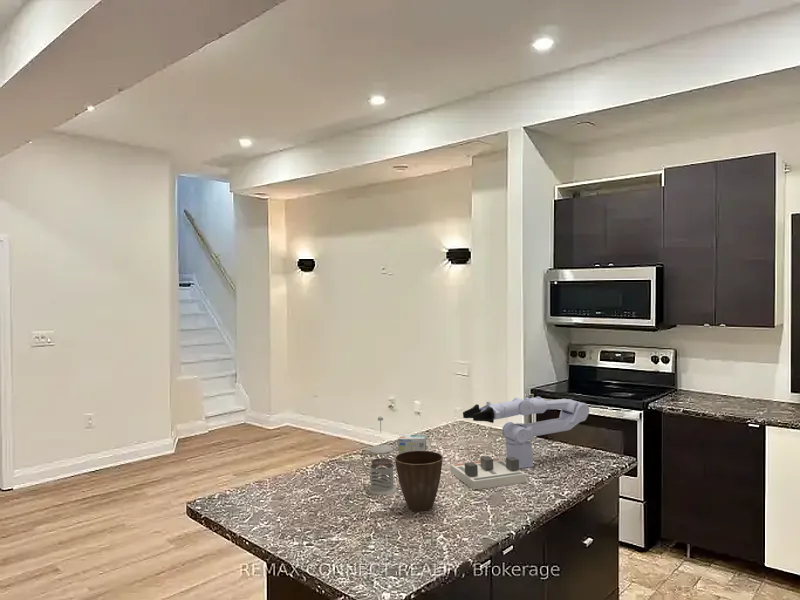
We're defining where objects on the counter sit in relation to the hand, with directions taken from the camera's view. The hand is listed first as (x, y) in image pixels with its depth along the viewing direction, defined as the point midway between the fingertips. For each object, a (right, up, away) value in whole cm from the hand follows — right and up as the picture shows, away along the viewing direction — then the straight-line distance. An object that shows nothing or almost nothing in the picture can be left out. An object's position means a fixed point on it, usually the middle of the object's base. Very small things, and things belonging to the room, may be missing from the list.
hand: (468, 416), depth 217 cm
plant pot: (-19, -22, -32) cm, 43 cm away
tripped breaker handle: (+6, -18, -5) cm, 19 cm away
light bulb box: (-20, -21, +14) cm, 32 cm away
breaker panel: (+6, -21, -5) cm, 22 cm away
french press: (-32, -22, -14) cm, 41 cm away
